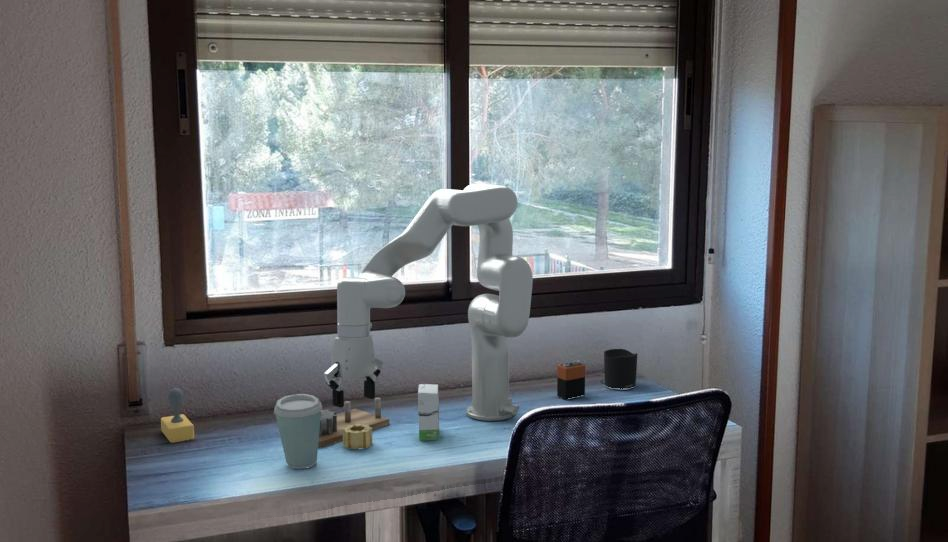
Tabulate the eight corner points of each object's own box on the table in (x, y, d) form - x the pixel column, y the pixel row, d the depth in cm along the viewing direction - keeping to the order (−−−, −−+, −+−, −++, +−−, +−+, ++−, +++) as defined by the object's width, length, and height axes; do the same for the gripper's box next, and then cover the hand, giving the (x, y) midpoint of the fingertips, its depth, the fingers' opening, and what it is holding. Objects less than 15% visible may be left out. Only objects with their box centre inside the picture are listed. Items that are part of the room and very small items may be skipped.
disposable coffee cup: (329, 469, 207) (326, 403, 205) (280, 476, 204) (277, 409, 201) (319, 453, 217) (317, 390, 215) (272, 459, 214) (269, 396, 211)
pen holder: (603, 390, 265) (603, 356, 264) (604, 381, 274) (604, 348, 273) (636, 392, 264) (637, 357, 262) (636, 382, 273) (637, 349, 271)
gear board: (389, 424, 237) (388, 398, 236) (321, 447, 221) (320, 420, 220) (354, 414, 246) (354, 389, 245) (286, 435, 230) (285, 409, 229)
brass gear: (378, 444, 223) (378, 427, 223) (356, 451, 218) (356, 435, 218) (358, 437, 228) (358, 421, 227) (337, 445, 223) (336, 428, 222)
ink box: (439, 440, 225) (438, 393, 224) (418, 441, 225) (417, 393, 223) (439, 428, 234) (438, 382, 232) (419, 429, 234) (418, 383, 232)
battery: (585, 396, 260) (586, 361, 258) (566, 400, 256) (566, 365, 255) (575, 393, 263) (576, 358, 262) (556, 396, 260) (556, 361, 258)
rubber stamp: (194, 439, 228) (192, 391, 226) (170, 443, 225) (167, 395, 223) (184, 427, 237) (182, 381, 235) (161, 431, 234) (158, 385, 232)
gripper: (370, 323, 227) (370, 391, 230) (314, 333, 214) (314, 406, 217) (392, 327, 222) (391, 397, 225) (335, 338, 210) (336, 413, 212)
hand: (354, 402), depth 221 cm, fingers open, 9 cm apart
